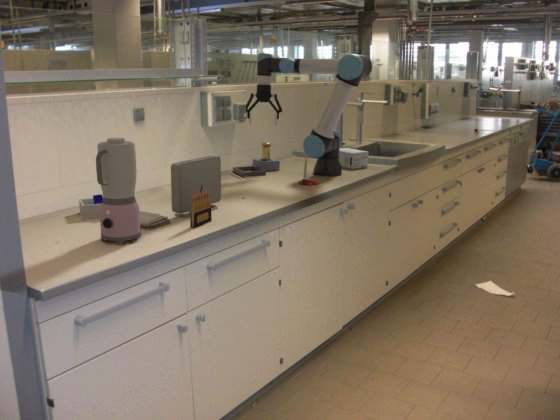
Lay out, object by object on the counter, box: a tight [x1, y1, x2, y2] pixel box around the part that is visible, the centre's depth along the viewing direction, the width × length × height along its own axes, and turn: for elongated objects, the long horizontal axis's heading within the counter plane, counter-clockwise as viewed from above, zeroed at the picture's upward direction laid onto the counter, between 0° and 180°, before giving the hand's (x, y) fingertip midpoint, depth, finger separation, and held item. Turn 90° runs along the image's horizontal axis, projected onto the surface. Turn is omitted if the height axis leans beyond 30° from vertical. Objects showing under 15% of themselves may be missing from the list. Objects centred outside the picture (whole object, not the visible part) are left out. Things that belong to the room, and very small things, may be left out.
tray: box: [232, 165, 267, 179], centre depth 287 cm, size 16×12×3 cm
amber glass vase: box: [261, 142, 272, 161], centre depth 298 cm, size 5×5×14 cm
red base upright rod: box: [297, 157, 319, 186], centre depth 268 cm, size 8×13×9 cm
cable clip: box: [92, 193, 103, 204], centre depth 206 cm, size 12×4×6 cm, turn 47°
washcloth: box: [140, 210, 171, 231], centre depth 195 cm, size 12×18×3 cm, turn 62°
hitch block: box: [252, 157, 281, 172], centre depth 299 cm, size 11×11×6 cm
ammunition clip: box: [189, 189, 213, 229], centre depth 194 cm, size 11×2×12 cm, turn 154°
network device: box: [170, 155, 222, 218], centre depth 210 cm, size 26×9×20 cm, turn 151°
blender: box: [95, 137, 142, 245], centre depth 171 cm, size 16×12×32 cm
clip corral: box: [78, 197, 101, 220], centre depth 206 cm, size 11×19×5 cm, turn 115°
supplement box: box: [339, 147, 369, 170], centre depth 321 cm, size 17×13×9 cm
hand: (262, 125), depth 294 cm, fingers open, 13 cm apart
